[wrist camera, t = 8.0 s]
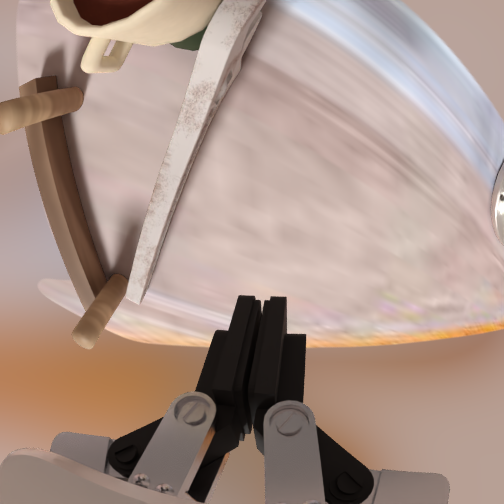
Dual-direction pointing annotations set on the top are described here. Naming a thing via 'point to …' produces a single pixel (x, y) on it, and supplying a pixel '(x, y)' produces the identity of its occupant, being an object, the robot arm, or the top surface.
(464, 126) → the top surface
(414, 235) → the top surface
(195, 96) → the wrench
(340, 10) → the top surface
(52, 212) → the peg rack
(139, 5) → the character mug
